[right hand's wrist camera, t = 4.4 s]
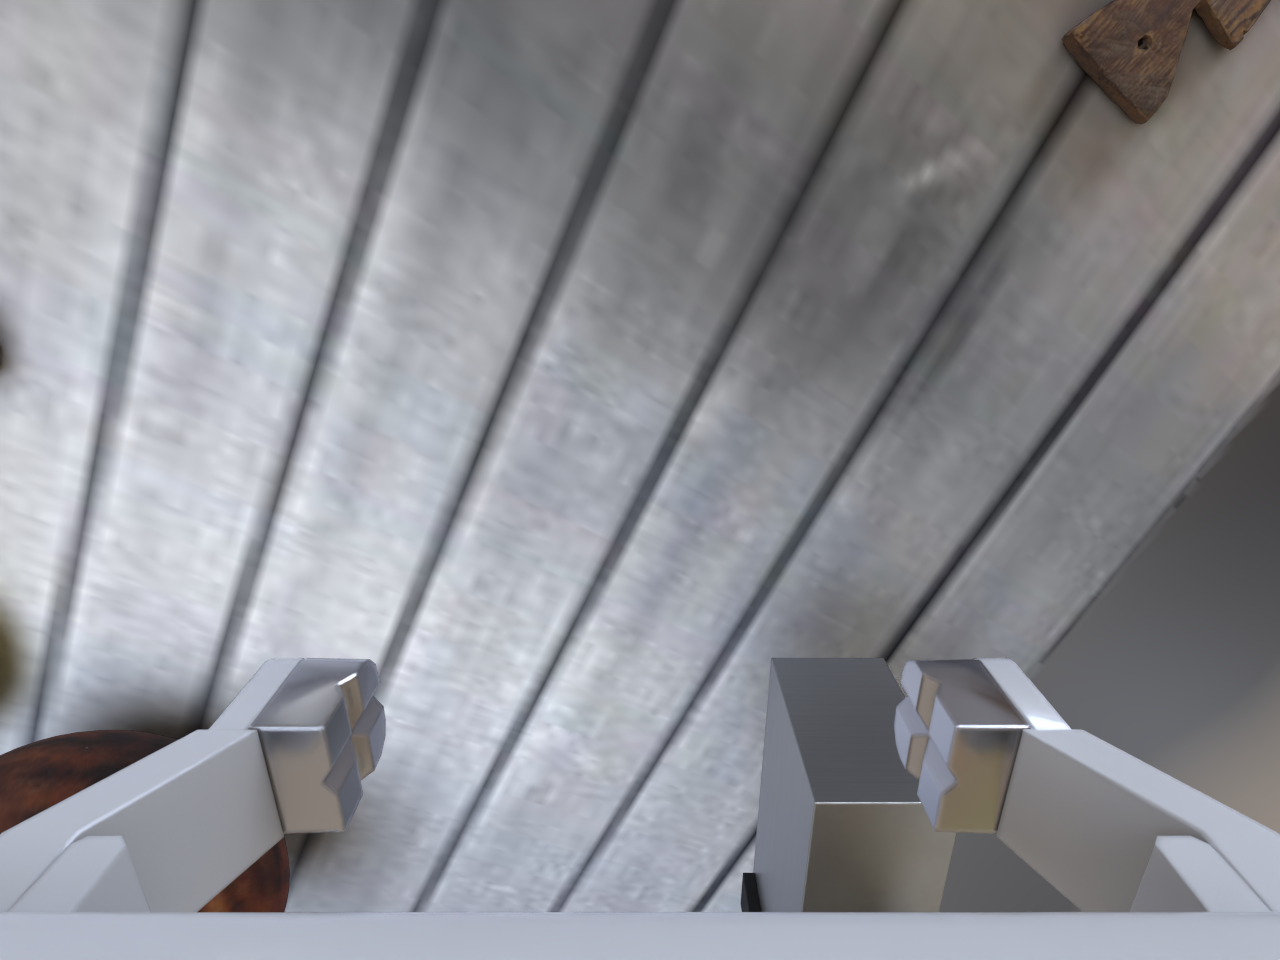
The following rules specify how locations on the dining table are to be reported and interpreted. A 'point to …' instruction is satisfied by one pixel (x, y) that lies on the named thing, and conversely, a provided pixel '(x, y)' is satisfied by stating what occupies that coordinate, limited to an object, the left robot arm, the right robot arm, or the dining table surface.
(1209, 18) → the dark wooden board
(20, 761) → the marbled brown ball
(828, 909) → the box
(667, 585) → the dining table surface
